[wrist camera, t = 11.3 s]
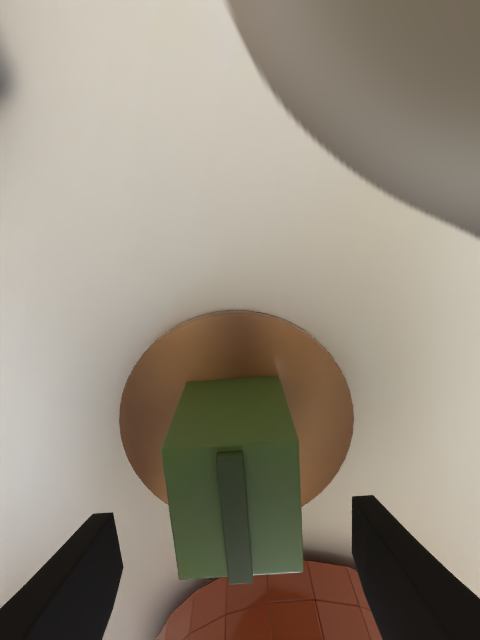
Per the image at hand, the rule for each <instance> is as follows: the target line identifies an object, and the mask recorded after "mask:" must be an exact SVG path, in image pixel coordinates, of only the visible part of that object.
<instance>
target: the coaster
mask: <svg viewBox="0 0 480 640" xmlns="http://www.w3.org/2000/svg"><path fill="white" fill-rule="evenodd" d="M264 376H279V378H280V381H281V384H282V388H283V391H284V394H285V397H286V401H287V404H288V407H289V410H290V413H291V417H292V420H293V423H294V426H295V429H296V433H297V436H298V439H299V455H300V483H301V507H302V506H303V505H305V504H307V503H308V502H310V501H311V500H312V499H313V498H315V497H316V496H317V495H318V494H319V493H321V492H322V491H323V490H324V488H325V487H326V486H327V485H328V484H329V483H330V482H331V481H332V479H333V478H334V477H335V475H336V474H337V472H338V471H339V469H340V467H341V465H342V464H343V462H344V460H345V457H346V455H347V452H348V449H349V447H350V442H351V438H352V434H353V422H354V416H353V404H352V399H351V394H350V390H349V388H348V385H347V382H346V380H345V377H344V375H343V374H342V372H341V370H340V368H339V366H338V365H337V363H336V362H335V361H334V359H333V358H332V357H331V355H330V354H329V353H328V352H327V350H326V349H325V348H324V347H323V346H322V345H321V344H320V343H319V342H318V341H317V340H316V339H314V338H313V337H312V336H311V335H309V334H308V333H307V332H305V331H304V330H302V329H301V328H299V327H297V326H295V325H293V324H292V323H290V322H287V321H285V320H282V319H280V318H277V317H275V316H271V315H267V314H263V313H259V312H250V311H223V312H215V313H210V314H206V315H202V316H199V317H195V318H193V319H191V320H188V321H186V322H184V323H181V324H180V325H178V326H176V327H174V328H173V329H171V330H169V331H168V332H167V333H165V334H164V335H163V336H161V337H160V338H159V339H158V340H156V341H155V342H154V343H153V344H152V345H151V346H150V348H149V349H148V350H147V351H146V352H145V353H144V354H143V355H142V357H141V358H140V359H139V361H138V362H137V364H136V365H135V366H134V368H133V370H132V372H131V374H130V376H129V378H128V379H127V382H126V385H125V388H124V391H123V394H122V399H121V404H120V417H119V423H120V433H121V438H122V442H123V447H124V450H125V452H126V455H127V457H128V460H129V462H130V464H131V466H132V467H133V469H134V471H135V473H136V474H137V475H138V477H139V478H140V479H141V481H142V482H143V483H144V484H145V486H146V487H147V488H148V489H149V490H150V491H151V492H152V493H153V494H154V495H156V496H157V497H158V498H160V499H161V500H162V501H163V502H165V503H166V504H168V498H167V491H166V484H165V478H164V471H163V464H162V457H161V447H162V445H163V442H164V439H165V437H166V434H167V431H168V429H169V426H170V424H171V421H172V418H173V416H174V413H175V411H176V408H177V405H178V403H179V400H180V397H181V395H182V392H183V390H184V387H185V384H186V382H192V381H206V380H220V379H235V378H249V377H264Z"/></svg>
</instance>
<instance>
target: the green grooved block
mask: <svg viewBox="0 0 480 640" xmlns="http://www.w3.org/2000/svg"><path fill="white" fill-rule="evenodd" d="M161 457H162V464H163V471H164V478H165V484H166V491H167V498H168V505H169V512H170V519H171V526H172V533H173V540H174V547H175V554H176V561H177V568H178V575H179V579H180V580H184V579H201V578H217V577H228V583H229V584H245V583H253V575H265V574H281V573H297V572H303V570H304V569H303V541H302V512H301V483H300V455H299V439H298V436H297V433H296V429H295V426H294V423H293V420H292V417H291V413H290V410H289V407H288V404H287V401H286V397H285V394H284V391H283V388H282V384H281V381H280V378H279V376H264V377H249V378H235V379H220V380H206V381H192V382H186V384H185V387H184V390H183V392H182V395H181V397H180V400H179V403H178V405H177V408H176V411H175V413H174V416H173V418H172V421H171V424H170V426H169V429H168V431H167V434H166V437H165V439H164V442H163V445H162V447H161Z"/></svg>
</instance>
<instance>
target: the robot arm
mask: <svg viewBox="0 0 480 640" xmlns="http://www.w3.org/2000/svg"><path fill="white" fill-rule="evenodd" d="M352 555H353V558H354V562H355V565H356V568H357V572H358V575H359V578H360V582H361V585H362V588H363V591H364V594H365V597H366V600H367V602H368V605H369V607H370V610H371V612H372V615H373V617H374V620H375V622H376V625H377V627H378V630H379V632H380V635H381V637H382V639H383V640H480V598H478V597H477V596H476V595H475V594H474V593H473V592H472V591H471V590H469V589H468V588H467V587H466V586H465V585H464V584H463V583H462V582H460V581H459V580H458V579H457V578H456V577H455V576H454V575H453V574H452V573H451V572H450V571H448V570H447V569H446V568H445V567H444V566H443V565H442V564H441V563H440V562H439V561H438V560H437V559H436V558H435V557H434V556H433V555H432V554H431V553H430V552H428V551H427V550H426V549H425V548H424V547H423V546H422V545H421V544H420V543H419V542H418V541H417V540H416V539H415V538H414V537H413V536H412V535H411V534H410V533H409V532H408V531H407V530H406V529H405V528H404V527H403V526H402V525H401V524H400V523H399V522H398V521H397V520H396V519H395V518H394V516H393V515H392V514H391V513H390V512H389V511H388V510H387V509H386V508H385V507H384V506H383V505H382V504H381V503H380V502H379V501H378V500H377V499H376V498H375V497H374V496H373V495H368V496H353V497H352ZM122 571H123V563H122V557H121V552H120V547H119V541H118V536H117V531H116V526H115V520H114V515H113V512H112V513H97V514H92V515H91V516H90V517H89V518H88V519H87V520H86V521H85V523H84V524H83V525H82V526H81V527H80V528H79V529H78V530H77V531H76V532H75V533H74V534H73V535H72V536H71V537H70V538H69V539H68V541H67V542H66V543H65V544H64V545H63V546H62V547H61V548H60V549H59V550H58V551H57V552H56V553H55V554H54V555H53V556H52V557H51V558H50V559H49V561H48V562H47V563H46V564H45V565H44V566H43V567H42V568H41V569H40V570H39V571H38V572H37V573H36V574H35V575H34V576H33V577H32V578H31V579H30V580H29V581H28V582H27V583H26V584H25V585H24V586H23V587H22V588H21V589H20V590H19V591H18V592H17V593H16V594H15V595H14V596H13V597H12V598H11V599H10V600H9V601H8V602H7V603H6V604H5V605H4V606H3V607H2V608H0V640H102V638H103V635H104V632H105V630H106V627H107V624H108V621H109V618H110V615H111V613H112V610H113V606H114V602H115V598H116V595H117V591H118V587H119V583H120V579H121V575H122Z"/></svg>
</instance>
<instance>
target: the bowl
mask: <svg viewBox="0 0 480 640" xmlns="http://www.w3.org/2000/svg"><path fill="white" fill-rule="evenodd" d="M303 569H304V570H303V572H297V573H281V574H265V575H253V583H245V584H229V583H228V577H220V578H218V579H217V580H215V581H213V582H211V583H209V584H208V585H206V586H204V587H202V588H200V589H198V590H197V591H195V592H194V593H193V594H192V595H191V596H189V597H188V598H187V599H186V600H185V601H184V602H183V603H182V604H181V605H180V606H179V607H178V608H177V609H176V610H175V611H174V612H173V613H172V614H171V615H170V616H169V618H168V620H167V621H166V623H165V625H164V627H163V629H162V630H161V632H160V634H159V636H158V637H157V639H156V640H383V639H382V637H381V635H380V632H379V630H378V627H377V625H376V622H375V620H374V617H373V615H372V612H371V610H370V607H369V605H368V602H367V600H366V597H365V594H364V591H363V588H362V585H361V582H360V578H359V575H358V572H357V570H354V569H352V568H349V567H345V566H340V565H333V564H326V563H320V562H313V561H307V562H306V561H303Z"/></svg>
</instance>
